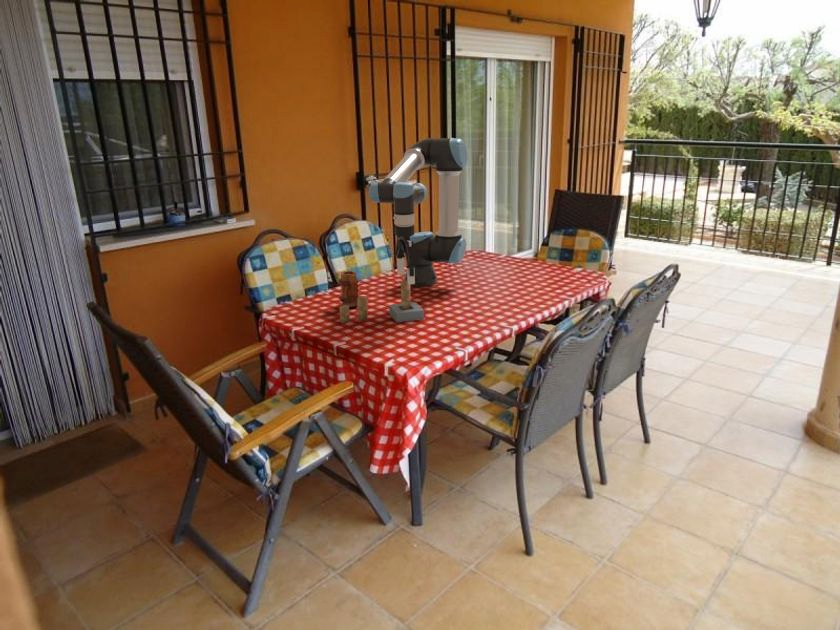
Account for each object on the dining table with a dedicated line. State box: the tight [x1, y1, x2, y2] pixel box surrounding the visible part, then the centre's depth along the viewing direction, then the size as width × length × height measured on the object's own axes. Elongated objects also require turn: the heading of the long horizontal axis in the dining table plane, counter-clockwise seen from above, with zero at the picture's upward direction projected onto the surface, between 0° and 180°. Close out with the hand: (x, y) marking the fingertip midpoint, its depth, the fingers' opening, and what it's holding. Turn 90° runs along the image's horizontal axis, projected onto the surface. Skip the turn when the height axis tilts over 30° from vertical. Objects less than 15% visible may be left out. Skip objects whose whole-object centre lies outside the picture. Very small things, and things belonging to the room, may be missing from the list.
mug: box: [338, 270, 360, 308], centre depth 254 cm, size 15×8×15 cm, turn 21°
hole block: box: [388, 302, 425, 323], centre depth 245 cm, size 11×11×4 cm
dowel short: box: [339, 304, 351, 324], centre depth 240 cm, size 4×4×6 cm
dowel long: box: [400, 280, 412, 310], centre depth 243 cm, size 4×4×14 cm
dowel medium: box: [357, 295, 368, 322], centre depth 241 cm, size 4×4×9 cm
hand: (406, 279), depth 241 cm, fingers open, 13 cm apart
